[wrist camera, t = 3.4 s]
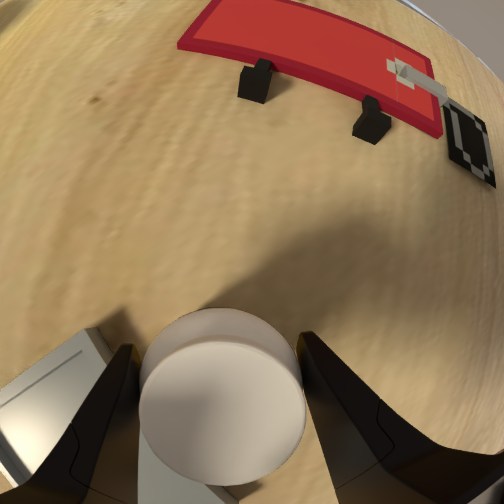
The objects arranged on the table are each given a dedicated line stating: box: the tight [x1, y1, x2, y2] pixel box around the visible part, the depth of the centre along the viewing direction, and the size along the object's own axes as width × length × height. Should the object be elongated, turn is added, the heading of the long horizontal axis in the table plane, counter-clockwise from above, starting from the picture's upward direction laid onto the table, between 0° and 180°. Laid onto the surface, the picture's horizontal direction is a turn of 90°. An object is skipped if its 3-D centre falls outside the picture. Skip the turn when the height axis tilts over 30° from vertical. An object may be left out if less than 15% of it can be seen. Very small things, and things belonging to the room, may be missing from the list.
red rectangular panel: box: [177, 0, 496, 189], centre depth 20 cm, size 30×3×15 cm
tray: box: [0, 327, 239, 504], centre depth 12 cm, size 14×14×2 cm
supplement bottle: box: [139, 307, 306, 486], centre depth 11 cm, size 5×5×10 cm
